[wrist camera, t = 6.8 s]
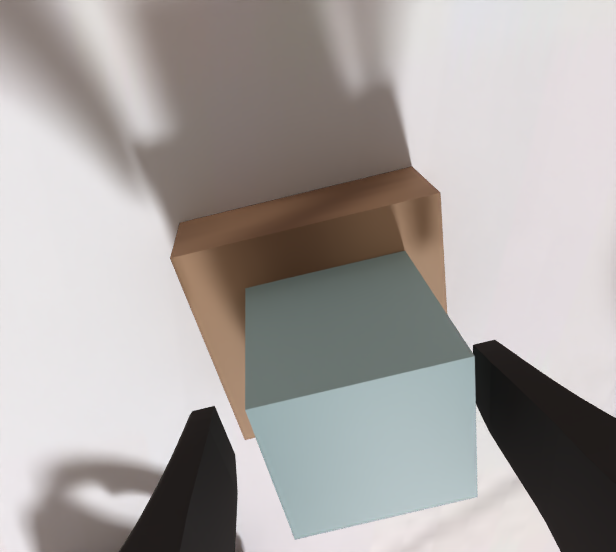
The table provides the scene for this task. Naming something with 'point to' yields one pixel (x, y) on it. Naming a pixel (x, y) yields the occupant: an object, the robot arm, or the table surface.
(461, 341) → the cube
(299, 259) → the slab
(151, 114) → the table surface
